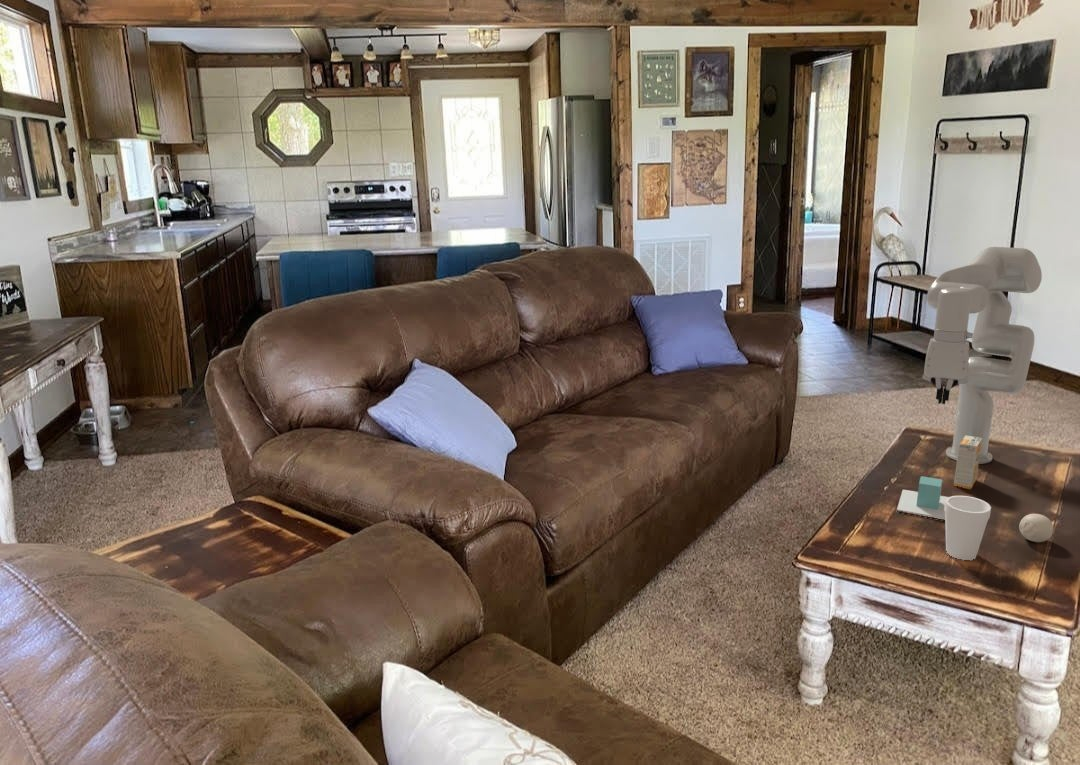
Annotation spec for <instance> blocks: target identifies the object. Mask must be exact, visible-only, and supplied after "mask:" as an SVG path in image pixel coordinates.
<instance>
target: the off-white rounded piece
mask: <svg viewBox="0 0 1080 765" xmlns="http://www.w3.org/2000/svg"><path fill="white" fill-rule="evenodd" d="M1018 529H1019V531H1020V534H1021V535H1022V536H1023V537H1024V538H1025V539H1027V540H1028V541H1031V542H1035V543H1044V542H1046V541H1048V540H1049V539H1050V538H1051V537H1052V535H1053V533H1054V526H1053V523H1052V521H1051V520H1050V519H1049V518H1048V517H1047V516H1045V515H1044V514H1040V513H1029V514H1027V515H1025V516H1023V518H1021V520H1020V522H1019V526H1018Z"/></svg>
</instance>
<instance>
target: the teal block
mask: <svg viewBox="0 0 1080 765" xmlns="http://www.w3.org/2000/svg"><path fill="white" fill-rule="evenodd" d="M942 486H943V479H940V478H935V477H929V476H924V475H923V476H922V475H921V476H920V478H919V482H918V489H917V492H918V496H917V505H916V506H919V507H925V508H931V509H936V510H938V507H939V503H940V496H942V495H941V493H942V488H943V487H942Z"/></svg>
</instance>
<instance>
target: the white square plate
mask: <svg viewBox="0 0 1080 765" xmlns="http://www.w3.org/2000/svg"><path fill="white" fill-rule="evenodd" d="M917 496H918V491H915V490H910V489H909V490H908V489H902V491H901V494H900V496H899V501H898V505H897V508H896V511H897V510H898V511H903V512H907V513H913V514H918V515H923V516H928V517H934V518H938V519H944V520H945V511H944V506H945V500H946V499H947V498H948V497H949V496H945V495H940V503H939V507H938V510H936V509H931V508H925V507H919V506H916V505H917ZM938 519H937V520H938Z"/></svg>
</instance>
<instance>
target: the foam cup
mask: <svg viewBox="0 0 1080 765" xmlns="http://www.w3.org/2000/svg"><path fill="white" fill-rule="evenodd" d="M947 497H948V498H947V499H946V500H945V506H944V511H945V521H944V522H945V523H944V526H945V527H944V528H945V552H946V551H947V552H946V554H947V553H948V554H949V555H950V557H951V556H952V557H951V558H953V557H954V558H953V559H955V558H957V559H956V560H958V559H962V560H961V561H964V560H970V561H973V559H974V560H975V559H976V558H977V555H978V553H979V549H980V546H981V543H982V539H983V536H984V534H985V530H986V527H987V524H988V521H989V519H990V517H991V514H992V513H991V511H992V506H991V505H990V504H989V502H986V501H985V500H983V499H980V498H977V497H973V496H967V495H952V496H951V495H950V496H947ZM948 554H947V555H948ZM949 555H948V556H949Z"/></svg>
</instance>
